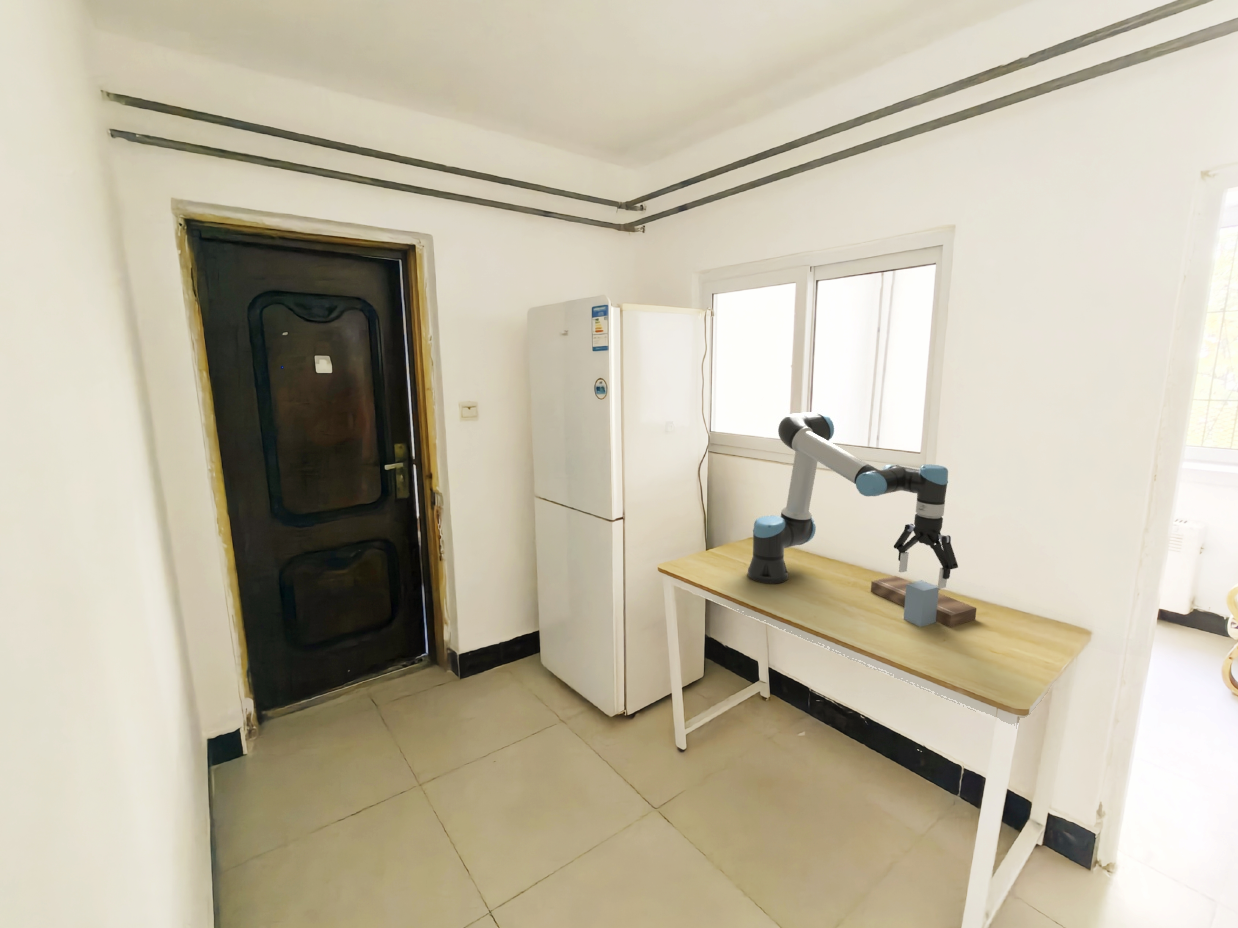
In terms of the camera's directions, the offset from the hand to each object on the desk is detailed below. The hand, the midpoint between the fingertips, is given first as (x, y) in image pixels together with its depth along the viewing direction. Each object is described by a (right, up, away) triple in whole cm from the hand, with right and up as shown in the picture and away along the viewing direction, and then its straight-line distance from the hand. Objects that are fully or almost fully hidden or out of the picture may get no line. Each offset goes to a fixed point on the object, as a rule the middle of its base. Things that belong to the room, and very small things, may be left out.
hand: (921, 579), depth 168 cm
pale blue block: (+2, -14, +3) cm, 14 cm away
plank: (+7, -12, +13) cm, 19 cm away
